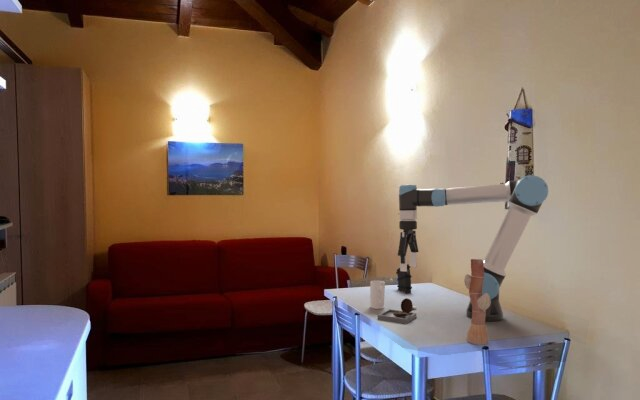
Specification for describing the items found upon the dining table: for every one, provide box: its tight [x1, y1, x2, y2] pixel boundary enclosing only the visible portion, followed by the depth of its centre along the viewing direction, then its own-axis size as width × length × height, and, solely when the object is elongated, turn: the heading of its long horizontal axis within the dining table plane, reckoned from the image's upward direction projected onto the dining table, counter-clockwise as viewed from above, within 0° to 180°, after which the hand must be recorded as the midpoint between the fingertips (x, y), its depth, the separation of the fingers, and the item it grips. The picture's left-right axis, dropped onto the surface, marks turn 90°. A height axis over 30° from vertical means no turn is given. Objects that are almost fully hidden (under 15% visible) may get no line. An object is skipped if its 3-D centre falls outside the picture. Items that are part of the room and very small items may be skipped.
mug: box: [369, 280, 386, 310], centre depth 224 cm, size 10×7×12 cm, turn 16°
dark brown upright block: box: [395, 263, 413, 294], centre depth 264 cm, size 4×13×15 cm, turn 14°
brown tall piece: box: [463, 258, 491, 346], centre depth 176 cm, size 10×7×30 cm
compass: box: [393, 297, 414, 316], centre depth 205 cm, size 8×8×7 cm
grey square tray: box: [377, 308, 418, 325], centre depth 206 cm, size 13×13×2 cm
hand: (408, 269), depth 209 cm, fingers open, 13 cm apart
